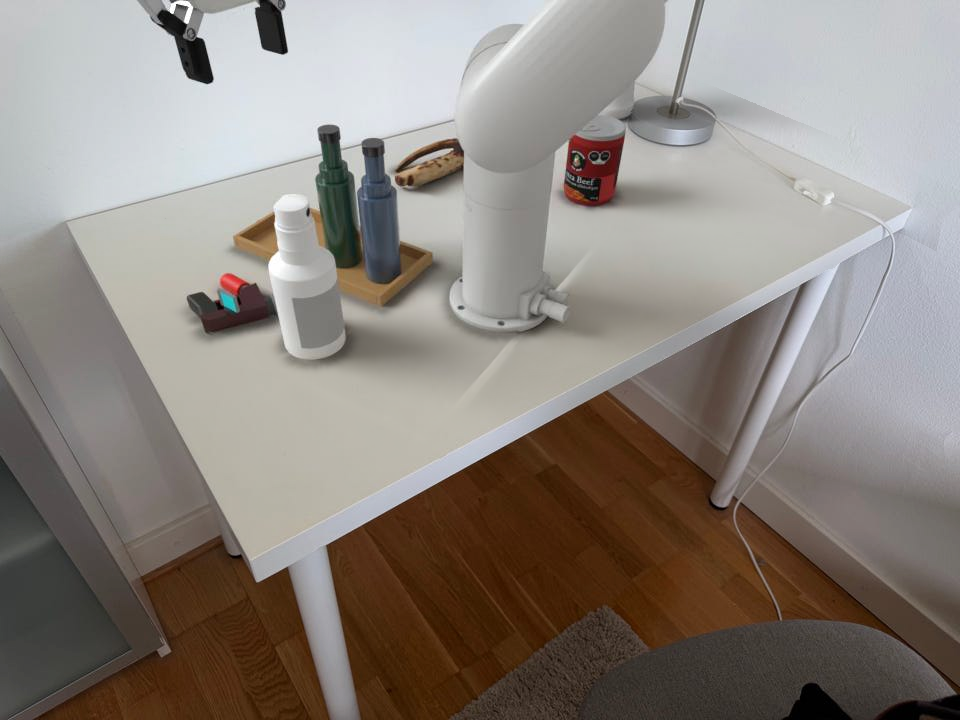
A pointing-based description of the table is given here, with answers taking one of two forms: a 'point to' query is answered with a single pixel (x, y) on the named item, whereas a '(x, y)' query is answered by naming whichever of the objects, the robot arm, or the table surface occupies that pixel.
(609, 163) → the canned food
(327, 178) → the green bottle
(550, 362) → the table surface
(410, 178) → the lashed bone hook
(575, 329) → the table surface
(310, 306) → the spray bottle
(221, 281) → the toy gun
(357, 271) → the tray
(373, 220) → the slate bottle
